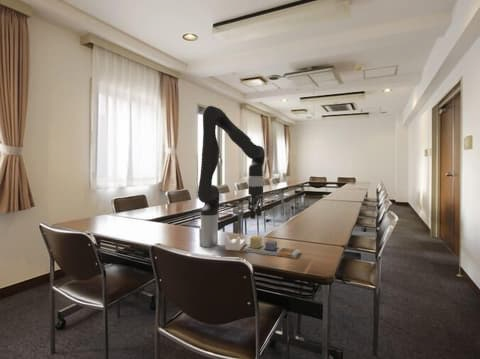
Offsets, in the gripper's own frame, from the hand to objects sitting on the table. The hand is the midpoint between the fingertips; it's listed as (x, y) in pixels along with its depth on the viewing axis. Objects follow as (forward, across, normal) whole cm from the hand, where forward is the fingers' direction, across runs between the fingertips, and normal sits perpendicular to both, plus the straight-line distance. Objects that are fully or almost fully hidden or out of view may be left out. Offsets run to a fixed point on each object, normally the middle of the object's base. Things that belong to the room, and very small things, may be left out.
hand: (255, 217), depth 139 cm
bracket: (+18, -2, -12) cm, 22 cm away
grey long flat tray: (+18, 0, +8) cm, 19 cm away
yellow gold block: (+17, 0, 0) cm, 17 cm away
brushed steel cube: (+17, 0, +8) cm, 19 cm away
